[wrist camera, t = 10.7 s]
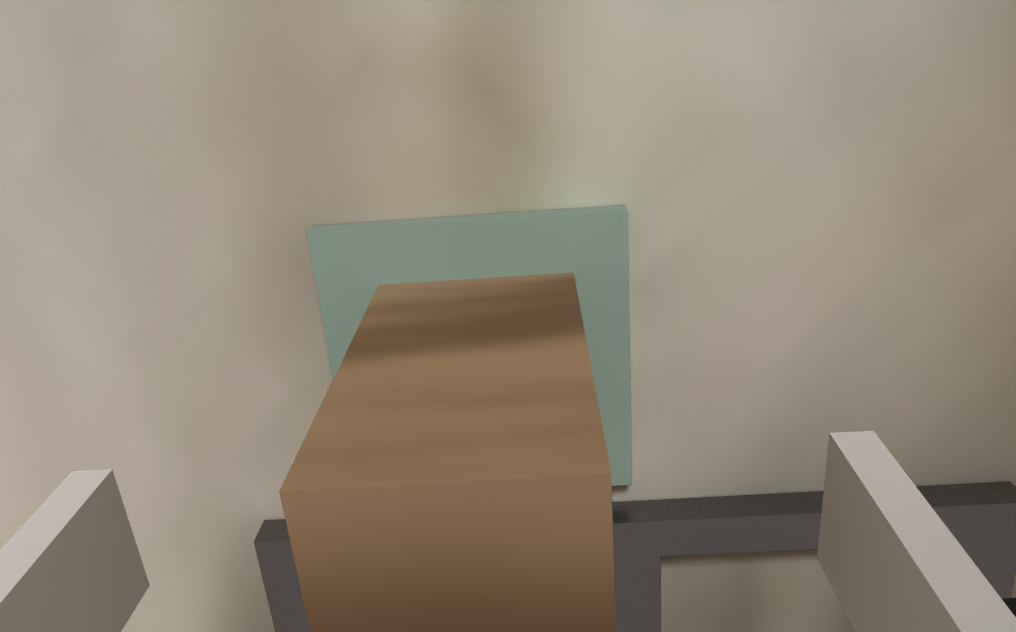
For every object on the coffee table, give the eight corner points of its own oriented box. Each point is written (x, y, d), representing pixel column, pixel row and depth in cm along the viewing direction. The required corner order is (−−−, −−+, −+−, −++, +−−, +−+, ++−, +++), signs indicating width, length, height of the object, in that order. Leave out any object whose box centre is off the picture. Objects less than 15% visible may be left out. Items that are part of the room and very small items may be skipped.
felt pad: (312, 226, 20) (306, 232, 20) (624, 204, 20) (627, 210, 19) (357, 487, 23) (353, 499, 23) (629, 472, 23) (631, 484, 22)
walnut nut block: (378, 284, 20) (279, 490, 12) (573, 272, 20) (611, 473, 12) (402, 452, 22) (331, 730, 14) (581, 441, 22) (618, 718, 14)
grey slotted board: (264, 520, 24) (253, 541, 23) (1009, 481, 23) (1030, 502, 22) (313, 734, 27) (306, 761, 26) (964, 708, 26) (980, 734, 25)
